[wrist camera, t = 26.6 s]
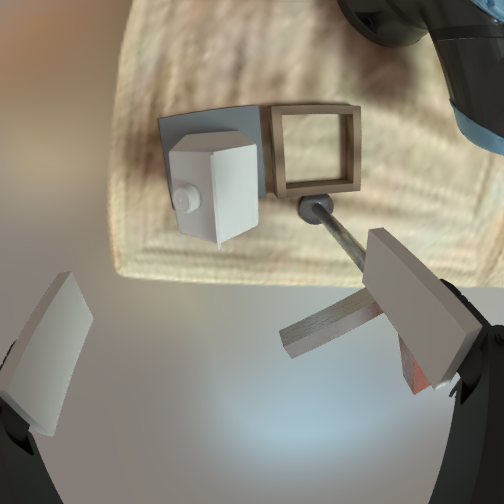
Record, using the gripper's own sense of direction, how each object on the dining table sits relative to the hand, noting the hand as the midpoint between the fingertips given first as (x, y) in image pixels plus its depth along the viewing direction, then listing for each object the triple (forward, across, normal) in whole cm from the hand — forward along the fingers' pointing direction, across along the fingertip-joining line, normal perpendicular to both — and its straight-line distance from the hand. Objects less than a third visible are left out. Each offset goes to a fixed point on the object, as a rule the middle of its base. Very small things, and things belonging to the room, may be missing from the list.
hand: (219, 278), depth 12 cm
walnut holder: (+29, +14, 0) cm, 32 cm away
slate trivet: (+29, 0, 0) cm, 29 cm away
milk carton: (+28, 0, 0) cm, 28 cm away
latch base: (+29, +14, -9) cm, 33 cm away
